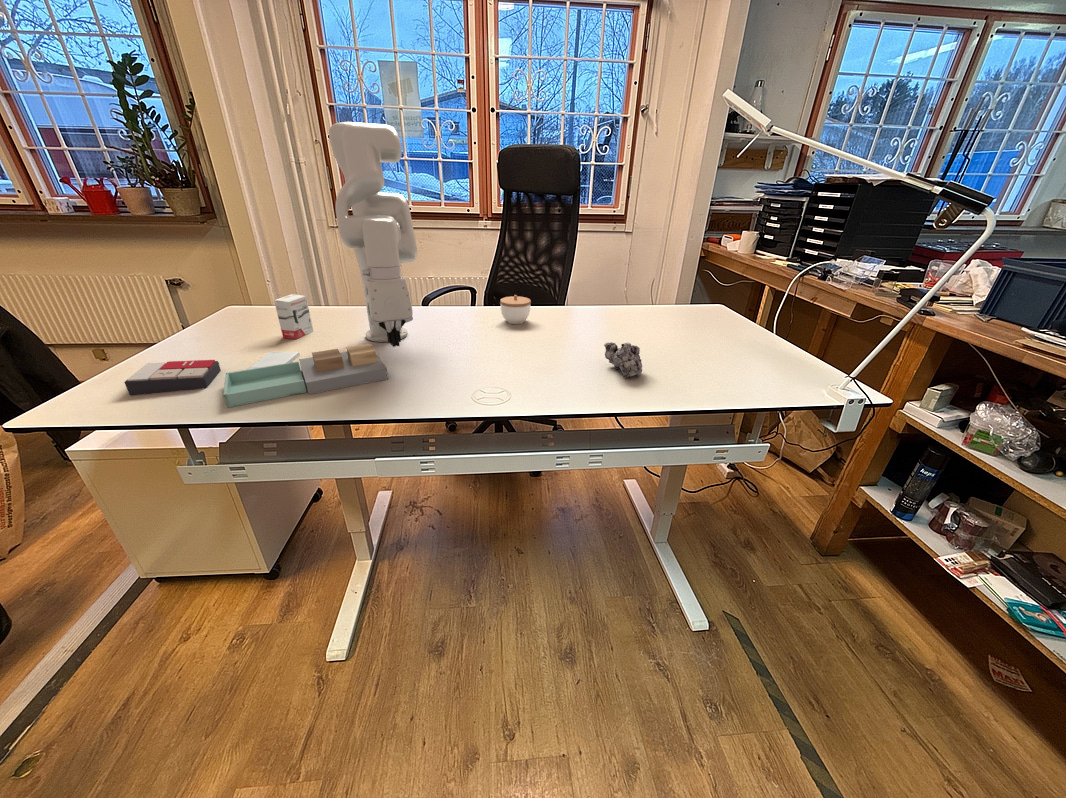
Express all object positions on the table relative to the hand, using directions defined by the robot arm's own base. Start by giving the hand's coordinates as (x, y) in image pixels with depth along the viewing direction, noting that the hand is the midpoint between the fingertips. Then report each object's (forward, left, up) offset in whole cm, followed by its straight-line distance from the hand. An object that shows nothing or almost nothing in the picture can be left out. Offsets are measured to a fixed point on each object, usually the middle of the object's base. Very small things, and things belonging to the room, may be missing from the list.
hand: (394, 344), depth 110 cm
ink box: (-40, -20, -6) cm, 45 cm away
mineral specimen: (+32, +52, -6) cm, 61 cm away
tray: (-1, -30, -6) cm, 31 cm away
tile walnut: (-1, -16, -3) cm, 17 cm away
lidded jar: (-21, +48, -6) cm, 52 cm away
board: (-1, -13, -6) cm, 15 cm away
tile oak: (-1, -8, -3) cm, 9 cm away
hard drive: (-17, -28, -7) cm, 34 cm away
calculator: (-15, -49, -7) cm, 51 cm away
